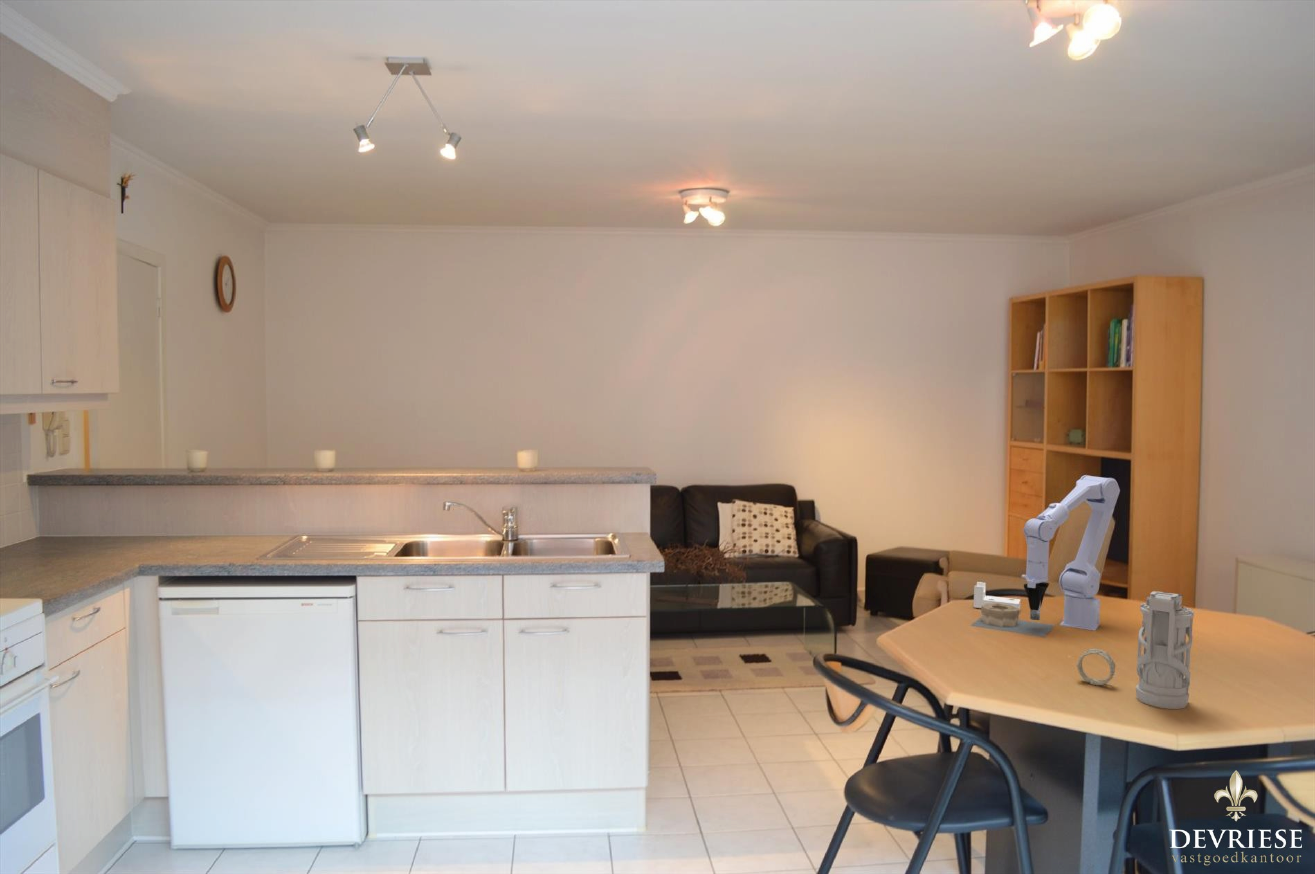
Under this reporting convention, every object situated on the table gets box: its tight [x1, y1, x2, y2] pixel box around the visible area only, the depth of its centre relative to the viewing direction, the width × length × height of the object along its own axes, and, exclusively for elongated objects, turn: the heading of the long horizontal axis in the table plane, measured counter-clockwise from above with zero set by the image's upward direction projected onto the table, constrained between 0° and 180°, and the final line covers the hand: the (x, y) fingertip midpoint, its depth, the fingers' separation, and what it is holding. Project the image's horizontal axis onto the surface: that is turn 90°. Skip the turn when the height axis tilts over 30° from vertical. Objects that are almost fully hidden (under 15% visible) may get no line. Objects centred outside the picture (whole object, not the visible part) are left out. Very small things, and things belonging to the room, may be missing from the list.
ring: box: [980, 603, 1020, 627], centre depth 275 cm, size 10×10×4 cm
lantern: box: [1135, 590, 1195, 710], centre depth 207 cm, size 13×10×25 cm
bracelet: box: [1076, 648, 1116, 686], centre depth 220 cm, size 4×8×8 cm, turn 54°
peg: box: [1029, 601, 1042, 621], centre depth 268 cm, size 3×3×8 cm
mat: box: [970, 617, 1056, 638], centre depth 272 cm, size 20×16×1 cm
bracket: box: [973, 581, 1021, 611], centre depth 293 cm, size 13×7×8 cm, turn 65°
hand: (1035, 608), depth 268 cm, fingers closed on peg, 3 cm apart
